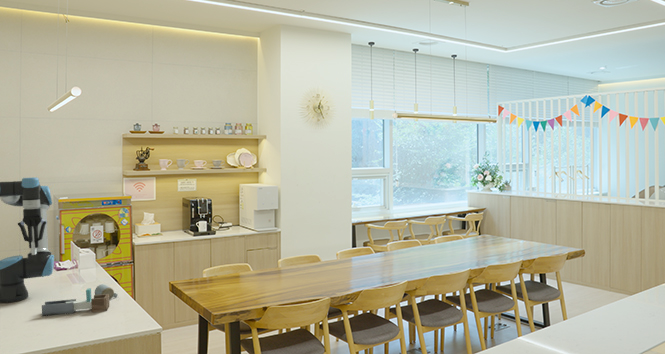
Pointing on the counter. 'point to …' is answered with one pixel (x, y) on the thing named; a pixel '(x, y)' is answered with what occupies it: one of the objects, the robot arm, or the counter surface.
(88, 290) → the rod
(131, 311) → the counter surface
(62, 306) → the channel
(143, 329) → the counter surface
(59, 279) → the counter surface
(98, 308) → the socket
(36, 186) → the robot arm
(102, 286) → the ceramic mug
